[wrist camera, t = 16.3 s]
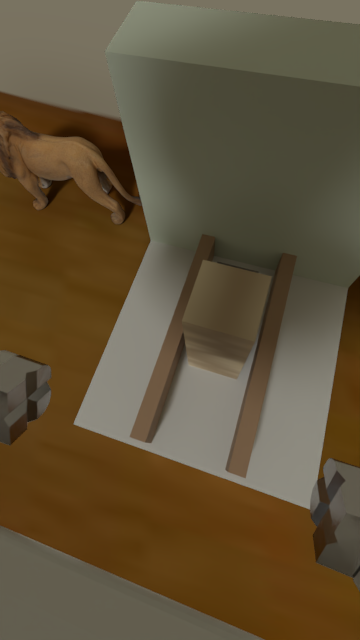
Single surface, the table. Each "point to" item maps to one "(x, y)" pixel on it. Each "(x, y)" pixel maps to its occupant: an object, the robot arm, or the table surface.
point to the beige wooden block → (223, 317)
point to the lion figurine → (57, 165)
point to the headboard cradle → (235, 234)
